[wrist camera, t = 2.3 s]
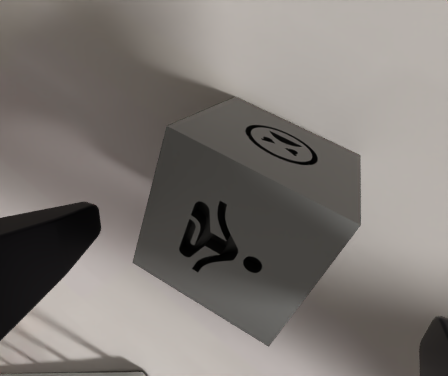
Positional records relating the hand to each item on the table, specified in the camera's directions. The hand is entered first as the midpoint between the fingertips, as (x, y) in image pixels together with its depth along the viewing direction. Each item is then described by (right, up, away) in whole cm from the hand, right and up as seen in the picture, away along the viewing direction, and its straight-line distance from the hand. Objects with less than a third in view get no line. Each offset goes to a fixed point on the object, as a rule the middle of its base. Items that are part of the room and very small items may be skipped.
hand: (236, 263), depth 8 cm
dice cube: (+2, +2, +5) cm, 6 cm away
